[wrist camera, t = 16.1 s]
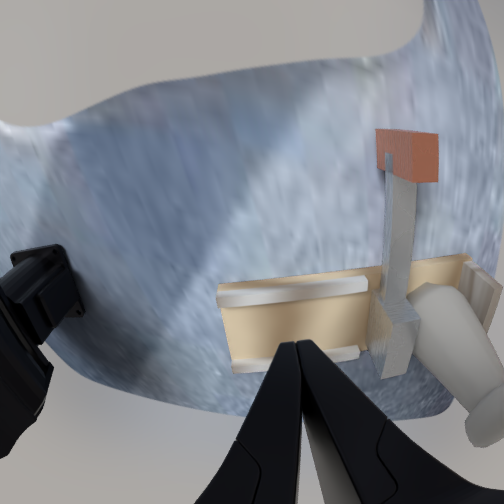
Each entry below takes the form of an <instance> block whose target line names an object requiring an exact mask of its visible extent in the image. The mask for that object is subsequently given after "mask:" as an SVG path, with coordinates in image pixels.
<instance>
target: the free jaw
mask: <svg viewBox="0 0 504 504" xmlns="http://www.w3.org/2000/svg"><path fill="white" fill-rule="evenodd" d="M376 146H377V168H379V169H381V170H384V171H385V228H384V246H383V260H382V271H381V281H380V289H375V290H372V293H371V302H370V311H369V319H368V327H367V334H366V341H365V344H366V346H367V349H368V351H369V353H370V356H371V358H372V360H373V363H374V365H375V367H376V370H377V372H378V374H379V377H380V379H385V378H389V377H394V376H398V375H402V374H405V373H406V371H407V368H408V365H409V361H410V358H411V355H412V351H413V348H414V344H415V341H416V337H417V333H418V329H419V325H420V321H421V318H420V316H419V315H418V314H417V312H416V311H415V309H414V308H413V307H412V305H411V304H410V303H409V301H408V300H407V299H406V293H407V287H408V280H409V274H410V266H411V258H412V250H413V240H414V229H415V215H416V196H417V183H423V182H438V167H439V148H438V134H434V133H426V132H418V131H410V130H400V129H376Z"/></svg>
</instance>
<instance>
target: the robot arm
mask: <svg viewBox="0 0 504 504" xmlns="http://www.w3.org/2000/svg"><path fill="white" fill-rule="evenodd" d="M55 249H56V250H57V252H56V250H55ZM10 258H11V261H12V264H13V267H14V268H12V269H11V270H10V271H9V272H7V273H6V274H5V275H4V276H3V277H1V278H0V459H1V458H3V457H5V456H7V455H8V454H9V453H10V451H11V449H12V448H13V446H14V444H15V442H16V440H17V439H18V438H19V437H20V435H21V434H22V433H23V432H24V431H25V430H26V429H27V428H28V427H29V426H31V425H32V424H33V423H34V422H36V420H37V417H38V416H39V414H40V413H41V411H42V409H43V406H44V403H45V399H46V395H47V391H48V387H49V384H50V380H51V377H52V373H53V370H54V367H53V365H52V364H51V363H50V362H48V360H47V359H46V357H45V356H44V355H43V353H42V352H41V351H40V349H39V348H38V345H42V344H43V343H44V341H45V340H46V339H47V337H48V336H49V335H50V333H51V332H52V331H53V329H54V328H56V327H57V326H58V325H59V324H60V322H61V321H62V320H63V318H64V317H83V316H84V314H85V312H86V311H85V308H84V306H83V304H82V301H81V299H80V296H79V294H78V291H77V289H76V286H75V284H74V281H73V279H72V276H71V273H70V270H69V268H68V265H67V262H66V259H65V256H64V253H63V250H62V248H61V246H60V245H58V244H53V245H47V246H42V247H37V248H31V249H26V250H21V251H16V252H13V253H12V254H11V255H10ZM302 415H303V420H304V424H305V428H306V432H307V436H308V439H309V443H310V448H311V451H312V455H313V459H314V463H315V467H316V471H317V475H318V479H319V482H320V486H321V491H322V494H323V498H324V502H325V504H504V490H497V489H489V488H485V487H481V486H478V485H475V484H473V483H471V482H469V481H467V480H466V479H464V478H463V477H461V476H459V475H458V474H457V473H455V472H454V471H452V470H451V469H450V468H448V467H447V466H445V465H444V464H442V463H441V462H440V461H438V460H437V459H436V458H434V457H433V456H432V455H430V454H429V453H427V452H426V451H425V450H423V449H422V448H421V447H420V446H419V445H417V444H416V443H415V442H413V441H412V440H411V439H410V438H409V437H408V436H407V435H406V434H405V433H403V432H402V431H401V430H400V429H399V428H398V427H397V426H396V425H395V424H394V423H393V422H392V421H391V420H390V419H387V416H386V415H385V414H384V413H383V412H382V411H381V410H380V409H379V408H378V407H377V406H376V405H375V404H374V403H373V402H372V401H371V400H370V399H369V398H368V397H367V396H366V395H365V394H364V393H363V392H362V391H361V390H360V389H359V388H358V387H357V386H356V385H355V384H354V383H353V382H352V381H351V380H350V379H349V378H348V376H347V375H346V374H345V373H344V372H343V371H342V370H341V369H340V368H339V367H338V366H337V365H336V364H335V363H334V362H333V361H332V360H331V359H330V358H329V357H328V356H327V355H326V354H325V353H324V352H323V351H322V350H321V349H320V348H319V347H318V346H317V345H316V344H315V343H314V342H313V340H311V339H305V340H298V341H296V343H295V342H294V341H288V342H281V343H280V344H279V346H278V348H277V350H276V353H275V355H274V357H273V359H272V362H271V364H270V366H269V369H268V371H267V373H266V375H265V377H264V380H263V382H262V384H261V386H260V389H259V391H258V393H257V395H256V397H255V399H254V402H253V404H252V406H251V408H250V410H249V412H248V414H247V416H246V418H245V420H244V423H243V425H242V427H241V429H240V431H239V433H238V435H237V437H236V441H234V443H233V444H232V447H231V448H230V450H229V452H228V454H227V456H226V458H225V460H224V462H223V463H222V465H221V467H220V468H219V470H218V472H217V473H216V474H215V476H214V477H213V479H212V480H211V482H210V483H209V485H208V486H207V488H206V489H205V490H204V491H203V493H202V494H201V495H200V496H199V498H198V499H197V500H196V502H195V503H194V504H297V503H298V490H299V489H298V488H299V475H300V474H299V473H300V457H301V435H302Z"/></svg>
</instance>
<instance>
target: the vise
mask: <svg viewBox="0 0 504 504" xmlns="http://www.w3.org/2000/svg"><path fill="white" fill-rule="evenodd" d="M381 271H382V265H381V266H374V267H366V268H359V269H351V270H343V271H335V272H326V273H318V274H310V275H301V276H292V277H283V278H274V279H264V280H255V281H245V282H235V283H224V284H218V289H217V294H216V301H217V306H218V308H221V313H222V318H223V322H224V327H225V331H226V336H227V341H228V345H229V349H230V354H231V358H232V365H231V368H232V372H233V374H236V373H251V372H263V371H268V369H269V366H270V364H271V362H272V359H273V357H274V355H275V353H276V350H277V348H278V346H279V344H280V343H281V342H288V341H294V342H295V343H296V341H298V340H305V339H311V340H313V342H314V343H315V344H316V345H317V346H318V347H319V348H320V349H321V350H322V351H323V352H324V353H325V354H326V355H327V356H328V357H329V358H330V359H331V360H332V361H333V362H334V363H336V362H342V361H348V360H353V359H359V355H360V351H364V350H368V349H367V346H366V344H365V341H366V334H367V327H368V319H369V311H370V302H371V293H372V290H375V289H380V281H381ZM425 282H429V283H432V284H438V285H448V286H453V287H454V288H456V289H457V290H458V291H459V292H461V293H462V294H463V295H464V296H465V298H466V299H467V301H468V302H469V304H470V306H471V307H472V309H473V311H474V313H475V314H476V316H477V318H478V319H479V321H480V323H481V325H482V327H483V328H484V330H485V332H486V334H487V332H488V330H489V327H490V324H491V322H492V319H493V316H494V313H495V310H496V308H497V305H498V301H499V298H500V295H501V292H502V288H503V286H502V285H500V284H499V283H498V282H497V281H496V280H495V279H494V278H492V277H491V276H490V275H489V274H488V273H486V272H485V271H484V270H483V269H482V268H480V267H479V266H478V265H477V264H476V263H474V262H473V261H472V258H471V257H470V256H469V255H468V254H466V253H463V254H457V255H451V256H444V257H437V258H431V259H424V260H417V261H411V266H410V274H409V280H408V287H407V293H406V297H407V294H409V293H410V292H412V291H413V290H415V289H416V288H418V287H419V286H421V285H422V284H423V283H425Z"/></svg>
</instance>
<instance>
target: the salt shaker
mask: <svg viewBox="0 0 504 504" xmlns="http://www.w3.org/2000/svg"><path fill="white" fill-rule="evenodd" d="M406 299H407V300H408V301H409V303H410V304H411V305H412V307H413V308H414V309H415V311H416V312H417V314H418V315H419V316H420V318H421V321H420V325H419V329H418V333H417V337H416V341H415V344H414V348H413V351H412V354H413V355H414V356H415V357H416V358H417V359H418V360H419V361H420V362H421V363H422V364H423V365H424V366H425V367H426V368H427V369H428V370H429V371H430V372H431V373H432V374H433V375H434V376H435V377H436V378H437V379H438V380H439V381H440V382H441V383H442V385H443V386H444V387H445V388H446V389H447V390H448V391H449V392H450V393H451V394H452V395H453V396H454V397H455V398H456V399H457V400H458V401H459V402H460V404H461V405H462V406H463V407H464V408H465V409H466V410H467V411H468V412H469V413H470V414H469V416H468V417H467V419H466V420H465V429H466V433H467V436H468V439H469V441H470V442H471V443H472V444H473V445H474V447H481V448H484V447H488V446H490V445H492V444H494V443H496V442H498V441H499V440H501V439H502V438H504V368H503V366H502V363H501V362H500V359H499V357H498V355H497V353H496V351H495V349H494V347H493V345H492V343H491V341H490V339H489V338H488V336H487V334H486V332H485V330H484V328H483V327H482V325H481V323H480V321H479V319H478V318H477V316H476V314H475V313H474V311H473V309H472V307H471V306H470V304H469V302H468V301H467V299H466V298H465V296H464V295H463V294H462V293H461V292H459V291H458V290H457V289H456V288H454V287H453V286H448V285H438V284H432V283H429V282H425V283H423V284H422V285H421V286H419V287H418V288H416V289H415V290H413V291H412V292H410V293H409V294H407V297H406Z"/></svg>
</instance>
